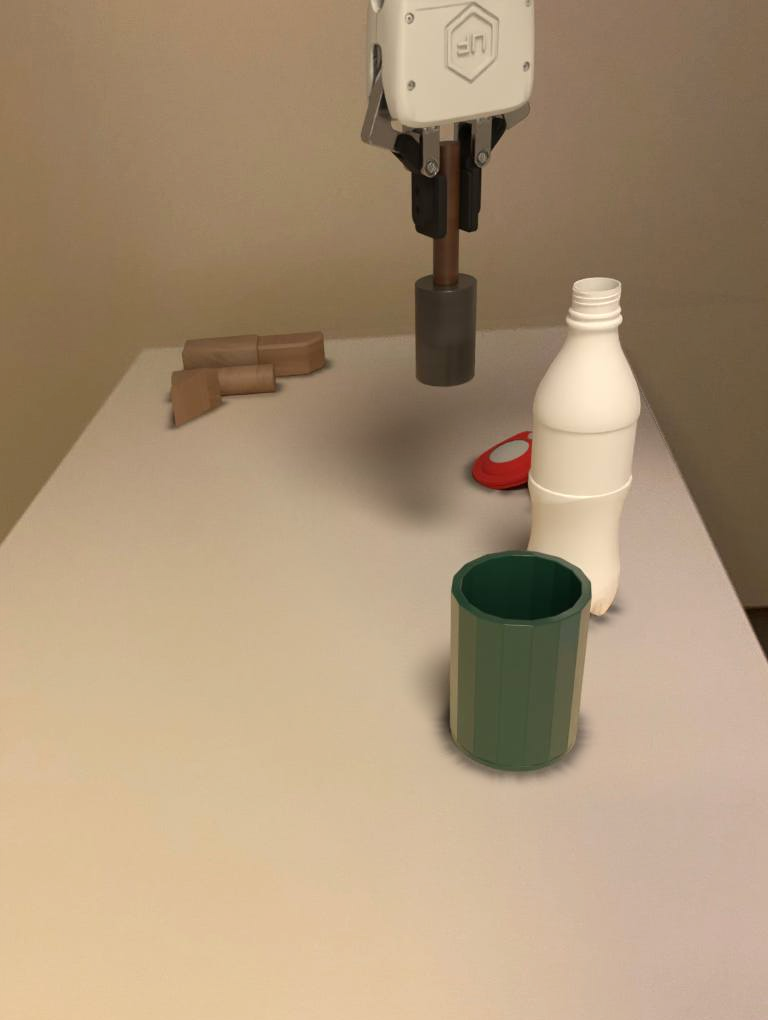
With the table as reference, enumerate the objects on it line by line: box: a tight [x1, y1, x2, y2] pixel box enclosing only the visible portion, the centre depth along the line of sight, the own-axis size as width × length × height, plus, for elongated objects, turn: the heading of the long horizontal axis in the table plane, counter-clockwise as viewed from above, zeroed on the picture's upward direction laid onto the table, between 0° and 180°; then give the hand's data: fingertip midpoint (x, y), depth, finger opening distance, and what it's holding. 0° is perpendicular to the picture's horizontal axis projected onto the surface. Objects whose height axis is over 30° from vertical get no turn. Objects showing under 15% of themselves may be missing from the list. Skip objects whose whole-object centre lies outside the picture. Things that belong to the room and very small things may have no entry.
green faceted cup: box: [449, 549, 592, 773], centre depth 63 cm, size 8×8×12 cm
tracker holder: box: [471, 430, 533, 490], centre depth 94 cm, size 12×4×10 cm
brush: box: [414, 140, 478, 388], centre depth 70 cm, size 4×4×16 cm
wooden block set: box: [169, 330, 326, 427], centre depth 117 cm, size 17×6×18 cm
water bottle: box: [526, 277, 642, 617], centre depth 71 cm, size 7×7×25 cm
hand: (446, 229), depth 69 cm, fingers closed on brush
